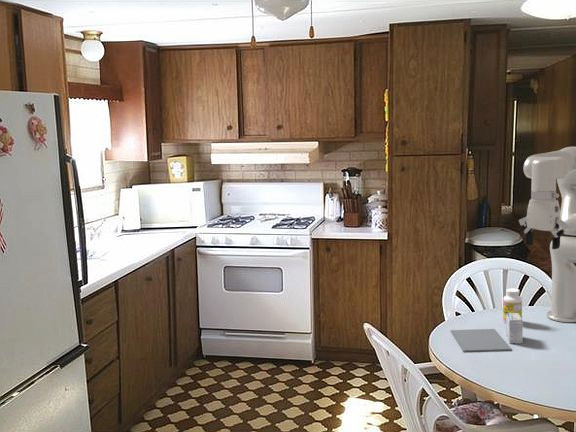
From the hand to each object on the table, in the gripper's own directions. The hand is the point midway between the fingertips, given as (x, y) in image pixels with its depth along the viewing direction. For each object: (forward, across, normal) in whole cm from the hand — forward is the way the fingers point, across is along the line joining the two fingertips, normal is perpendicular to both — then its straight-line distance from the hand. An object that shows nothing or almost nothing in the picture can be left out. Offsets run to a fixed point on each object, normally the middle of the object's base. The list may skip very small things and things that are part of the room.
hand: (542, 246), depth 206 cm
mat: (+34, +16, +12) cm, 40 cm away
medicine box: (+34, +8, +3) cm, 35 cm away
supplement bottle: (+34, +19, -12) cm, 41 cm away
